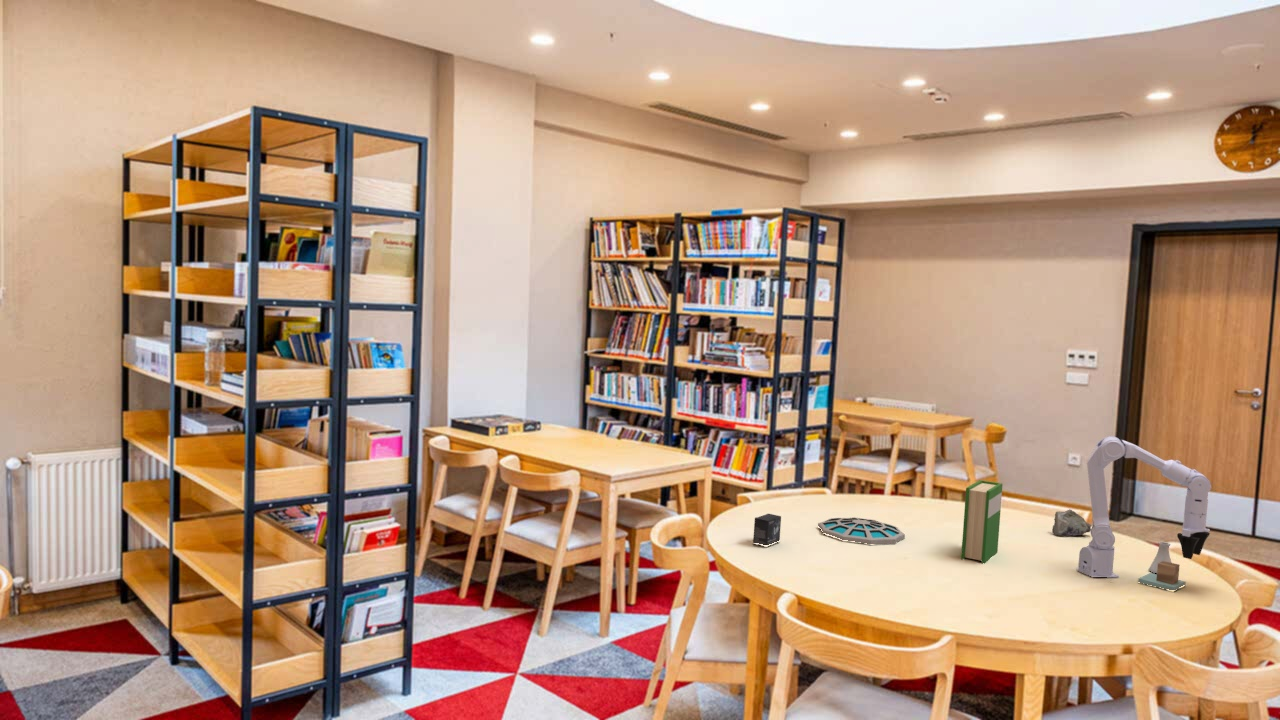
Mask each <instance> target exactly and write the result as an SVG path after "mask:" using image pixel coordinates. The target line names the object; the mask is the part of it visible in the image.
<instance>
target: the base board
mask: <svg viewBox="0 0 1280 720" xmlns="http://www.w3.org/2000/svg"><path fill="white" fill-rule="evenodd" d="M1156 580H1157V574H1155V573H1152V572H1150V573H1149V572H1148V573H1147V574H1144V575H1143V576H1141V577H1139V578H1137V583H1138V582H1140V583H1144V584H1148V585H1152V586H1156V587H1161V588H1164V589H1169V590H1176V589H1178V588H1179V587H1181V586H1183V585H1185V586H1186V583H1187V581H1185V580H1180V579H1178V582H1177V583H1175V584H1173V585H1172V584H1168V583H1164V582H1160V581H1156Z"/></svg>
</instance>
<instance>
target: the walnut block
mask: <svg viewBox="0 0 1280 720" xmlns="http://www.w3.org/2000/svg"><path fill="white" fill-rule="evenodd" d="M1180 565H1181V564H1179V563H1173V562H1172V563H1170V562H1166V561H1162V562H1160V563H1158V568H1157V574H1156V575H1157V580H1156V581H1160V582H1164V583H1168V584H1172V585H1173V584H1175V583H1177V582H1178V580H1179V577H1180V576H1179V574H1180Z"/></svg>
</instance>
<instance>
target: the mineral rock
mask: <svg viewBox="0 0 1280 720" xmlns="http://www.w3.org/2000/svg"><path fill="white" fill-rule="evenodd" d="M1053 520H1054V523H1053V524H1054V525H1052V528H1051V529H1052V531H1051V532H1052V533H1053V535H1054V536H1057V537H1069V536H1072V537H1074V536H1075V537H1076V536H1082V535H1083V534H1086V533H1091V528H1092V526H1093V524H1091V523H1089V522H1087V521H1086V520H1085V518H1084V517H1083V516H1081V515H1080V514H1079V513H1076V512H1075V511H1074V510H1072V509H1070V508H1069V509H1067V510H1064V511H1059V510H1058V511H1056V512H1055V514H1054V519H1053Z"/></svg>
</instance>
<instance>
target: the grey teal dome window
mask: <svg viewBox="0 0 1280 720" xmlns="http://www.w3.org/2000/svg"><path fill="white" fill-rule="evenodd" d="M818 526H819V527H820V528H821V529H822V531H823V533H826V534H829V535H832V536H835V537H837V538H840V539H842V540H848V541H855V542H861V543H867V544H882V545H896V544H897V543H899V542H901V541H902V540H905V539H906V535H905V534H906V533H904V532H903V531H901V530H900V528H899V527H897V526H895V525H892V524H888V523H886V522H880V521H877V520H876V519H871V518H870V519H869V518H860V517H855V516H853V517H833V518H832V517H831V518H828V519H826V520H824V521H821V522H818V523H817V527H818ZM900 540H901V541H900ZM898 541H899V542H898ZM896 542H897V543H896ZM895 543H896V544H895Z"/></svg>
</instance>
